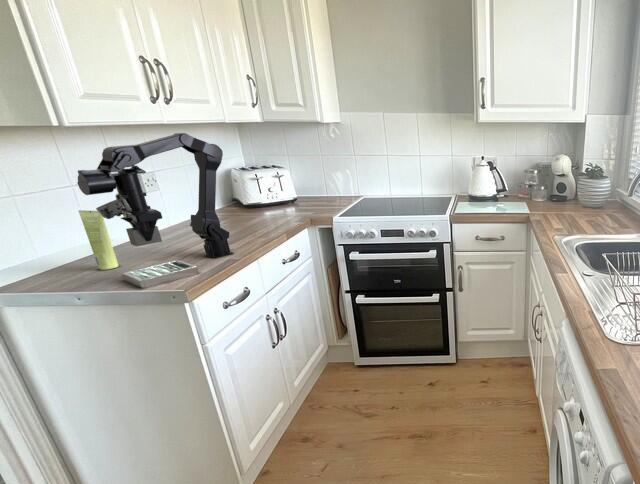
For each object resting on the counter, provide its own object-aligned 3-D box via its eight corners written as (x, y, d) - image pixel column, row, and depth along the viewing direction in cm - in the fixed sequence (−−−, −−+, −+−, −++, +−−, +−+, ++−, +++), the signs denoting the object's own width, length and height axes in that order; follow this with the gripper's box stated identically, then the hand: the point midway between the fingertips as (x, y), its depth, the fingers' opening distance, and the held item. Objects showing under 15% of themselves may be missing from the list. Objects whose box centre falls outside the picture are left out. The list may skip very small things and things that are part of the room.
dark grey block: (156, 239, 134) (151, 224, 133) (162, 241, 132) (157, 226, 130) (131, 244, 129) (125, 228, 127) (136, 246, 127) (131, 230, 125)
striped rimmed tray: (180, 266, 139) (177, 259, 138) (198, 273, 133) (196, 266, 132) (124, 280, 127) (121, 273, 126) (142, 288, 121) (139, 280, 120)
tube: (121, 264, 142) (102, 207, 136) (121, 267, 139) (100, 210, 132) (99, 267, 139) (78, 210, 132) (98, 271, 135) (76, 212, 129)
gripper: (83, 191, 123) (101, 241, 129) (106, 196, 114) (124, 250, 119) (130, 186, 132) (146, 233, 137) (155, 191, 123) (170, 241, 128)
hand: (145, 239), depth 130 cm, fingers closed on dark grey block, 4 cm apart
